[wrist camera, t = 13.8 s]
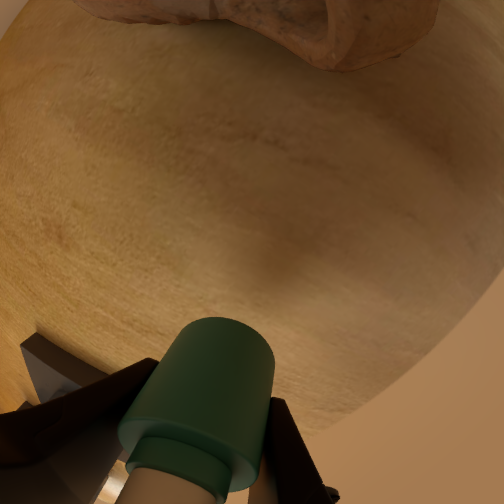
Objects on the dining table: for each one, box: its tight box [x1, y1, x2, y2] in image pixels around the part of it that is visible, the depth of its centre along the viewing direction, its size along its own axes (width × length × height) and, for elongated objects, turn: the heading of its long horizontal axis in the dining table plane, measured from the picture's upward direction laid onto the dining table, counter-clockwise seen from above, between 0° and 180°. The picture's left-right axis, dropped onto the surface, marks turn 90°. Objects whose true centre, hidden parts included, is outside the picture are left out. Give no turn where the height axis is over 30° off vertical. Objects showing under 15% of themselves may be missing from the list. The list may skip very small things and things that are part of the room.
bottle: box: [115, 317, 275, 504], centre depth 6 cm, size 4×4×6 cm
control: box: [20, 333, 130, 463], centre depth 16 cm, size 12×10×4 cm
